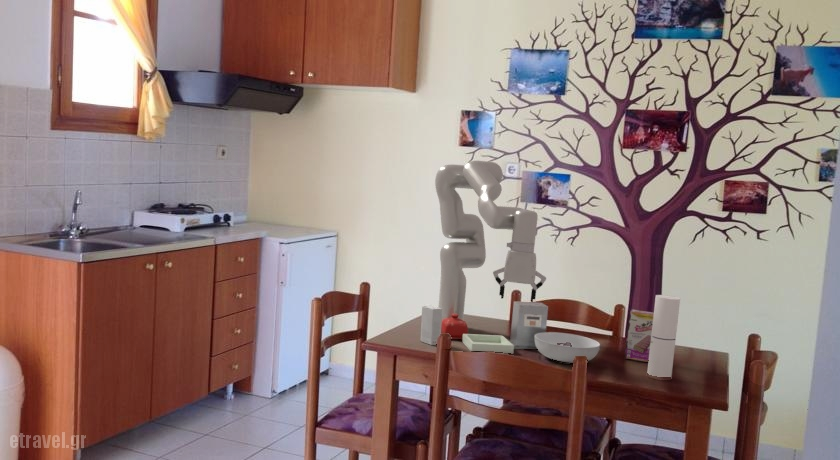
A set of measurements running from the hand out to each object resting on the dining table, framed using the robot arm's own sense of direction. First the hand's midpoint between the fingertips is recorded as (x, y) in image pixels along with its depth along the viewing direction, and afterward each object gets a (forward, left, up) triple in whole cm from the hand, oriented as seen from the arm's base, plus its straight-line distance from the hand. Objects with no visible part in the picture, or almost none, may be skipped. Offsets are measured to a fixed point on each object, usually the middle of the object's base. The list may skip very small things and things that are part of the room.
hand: (516, 299), depth 250 cm
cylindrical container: (+25, +40, -18) cm, 50 cm away
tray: (-4, -7, -18) cm, 19 cm away
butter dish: (-18, -16, -18) cm, 30 cm away
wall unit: (-8, +8, -18) cm, 21 cm away
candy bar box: (+5, +44, -18) cm, 47 cm away
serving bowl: (+8, +16, -18) cm, 25 cm away
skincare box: (-7, -26, -18) cm, 33 cm away
